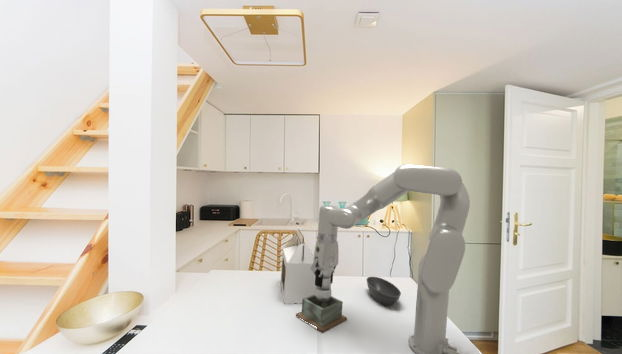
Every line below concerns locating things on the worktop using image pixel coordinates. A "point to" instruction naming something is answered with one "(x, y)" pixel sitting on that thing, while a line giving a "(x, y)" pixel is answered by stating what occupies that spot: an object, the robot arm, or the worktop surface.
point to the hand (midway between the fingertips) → (323, 283)
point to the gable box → (297, 270)
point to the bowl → (383, 291)
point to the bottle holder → (322, 313)
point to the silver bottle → (324, 285)
